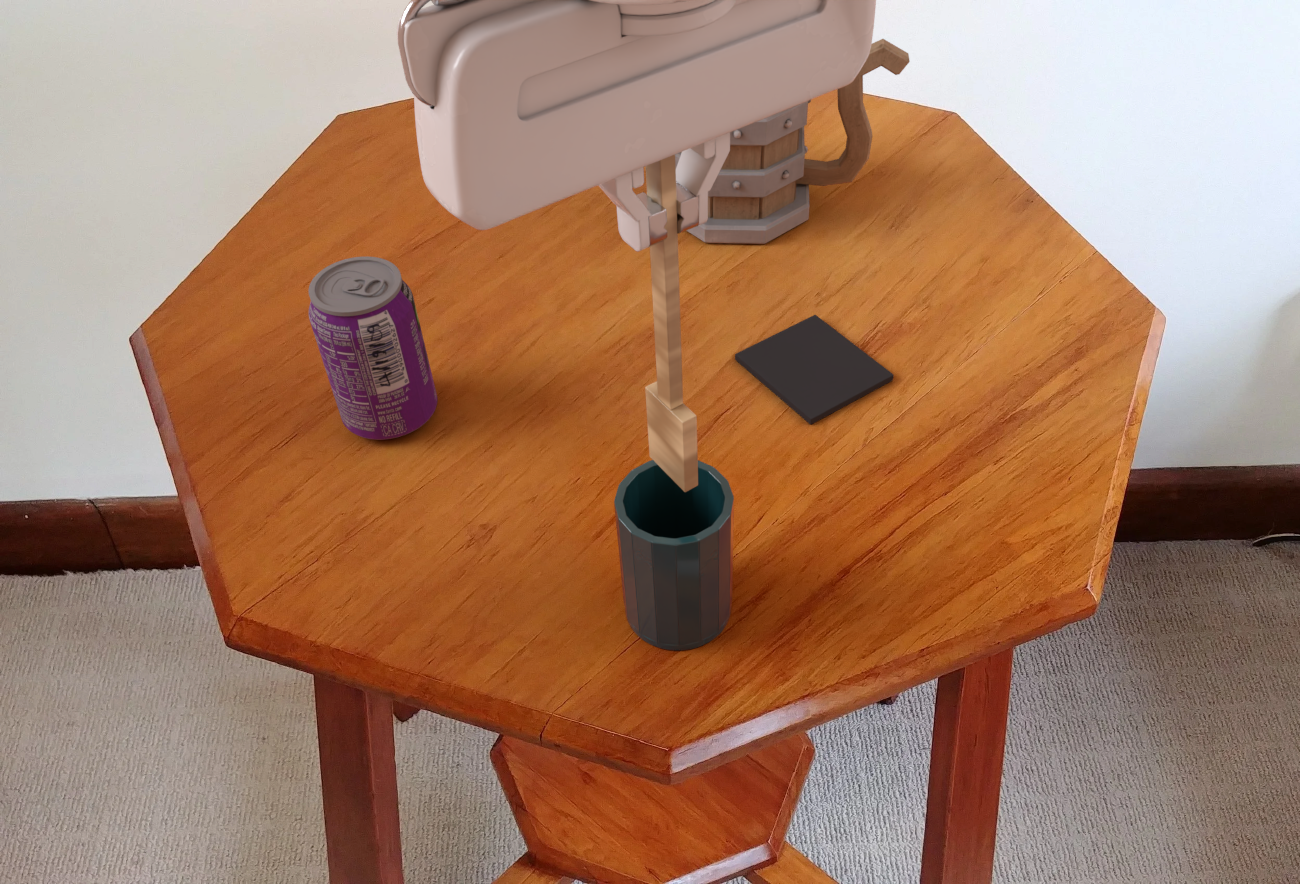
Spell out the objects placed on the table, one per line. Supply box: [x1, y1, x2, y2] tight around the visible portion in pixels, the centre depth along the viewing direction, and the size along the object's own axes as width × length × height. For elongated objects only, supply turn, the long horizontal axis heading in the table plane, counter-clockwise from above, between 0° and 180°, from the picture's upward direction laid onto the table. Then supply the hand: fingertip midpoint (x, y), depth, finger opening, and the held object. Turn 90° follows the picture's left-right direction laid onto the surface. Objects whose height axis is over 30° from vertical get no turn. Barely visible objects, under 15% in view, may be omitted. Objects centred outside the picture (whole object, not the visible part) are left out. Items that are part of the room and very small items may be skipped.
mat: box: [734, 314, 895, 425], centre depth 85 cm, size 9×8×1 cm
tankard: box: [675, 38, 910, 245], centre depth 95 cm, size 20×13×15 cm, turn 85°
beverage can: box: [308, 256, 438, 440], centre depth 79 cm, size 7×7×12 cm
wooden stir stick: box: [644, 155, 699, 492], centre depth 54 cm, size 3×1×20 cm, turn 34°
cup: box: [613, 459, 735, 652], centre depth 66 cm, size 7×7×10 cm
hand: (663, 231), depth 50 cm, fingers closed on wooden stir stick, 1 cm apart
